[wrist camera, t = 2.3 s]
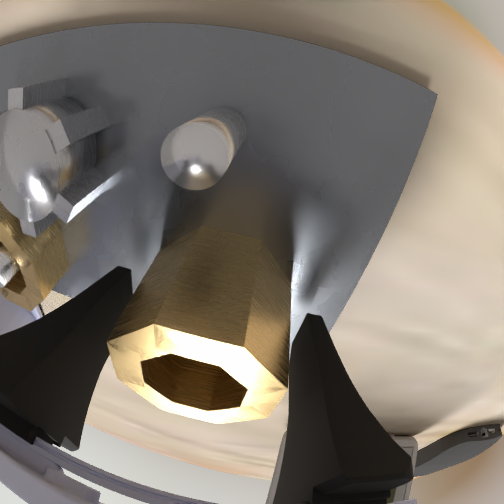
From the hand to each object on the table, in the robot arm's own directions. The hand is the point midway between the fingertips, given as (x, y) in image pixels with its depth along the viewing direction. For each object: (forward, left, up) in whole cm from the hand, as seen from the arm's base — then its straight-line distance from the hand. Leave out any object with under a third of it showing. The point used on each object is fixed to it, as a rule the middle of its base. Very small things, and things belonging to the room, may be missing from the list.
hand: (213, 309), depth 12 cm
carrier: (+3, +4, -2) cm, 6 cm away
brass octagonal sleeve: (0, 0, -1) cm, 1 cm away
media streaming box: (-24, -36, -3) cm, 43 cm away
